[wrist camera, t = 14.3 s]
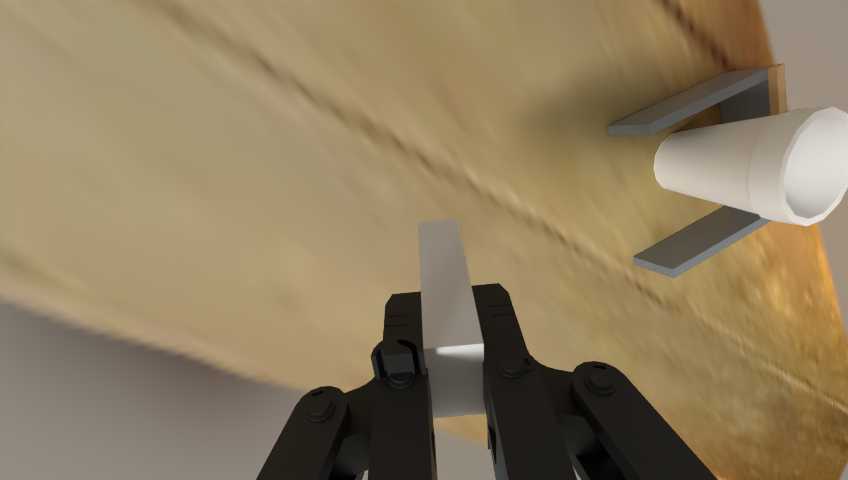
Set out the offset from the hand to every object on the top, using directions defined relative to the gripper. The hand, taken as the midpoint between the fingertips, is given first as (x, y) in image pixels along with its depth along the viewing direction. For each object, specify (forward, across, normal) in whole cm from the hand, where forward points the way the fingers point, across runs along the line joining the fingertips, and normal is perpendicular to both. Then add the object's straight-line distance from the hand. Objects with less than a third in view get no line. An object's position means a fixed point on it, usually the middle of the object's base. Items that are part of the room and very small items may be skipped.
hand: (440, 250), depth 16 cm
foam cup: (+29, +27, -10) cm, 41 cm away
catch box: (+28, +27, -11) cm, 41 cm away
